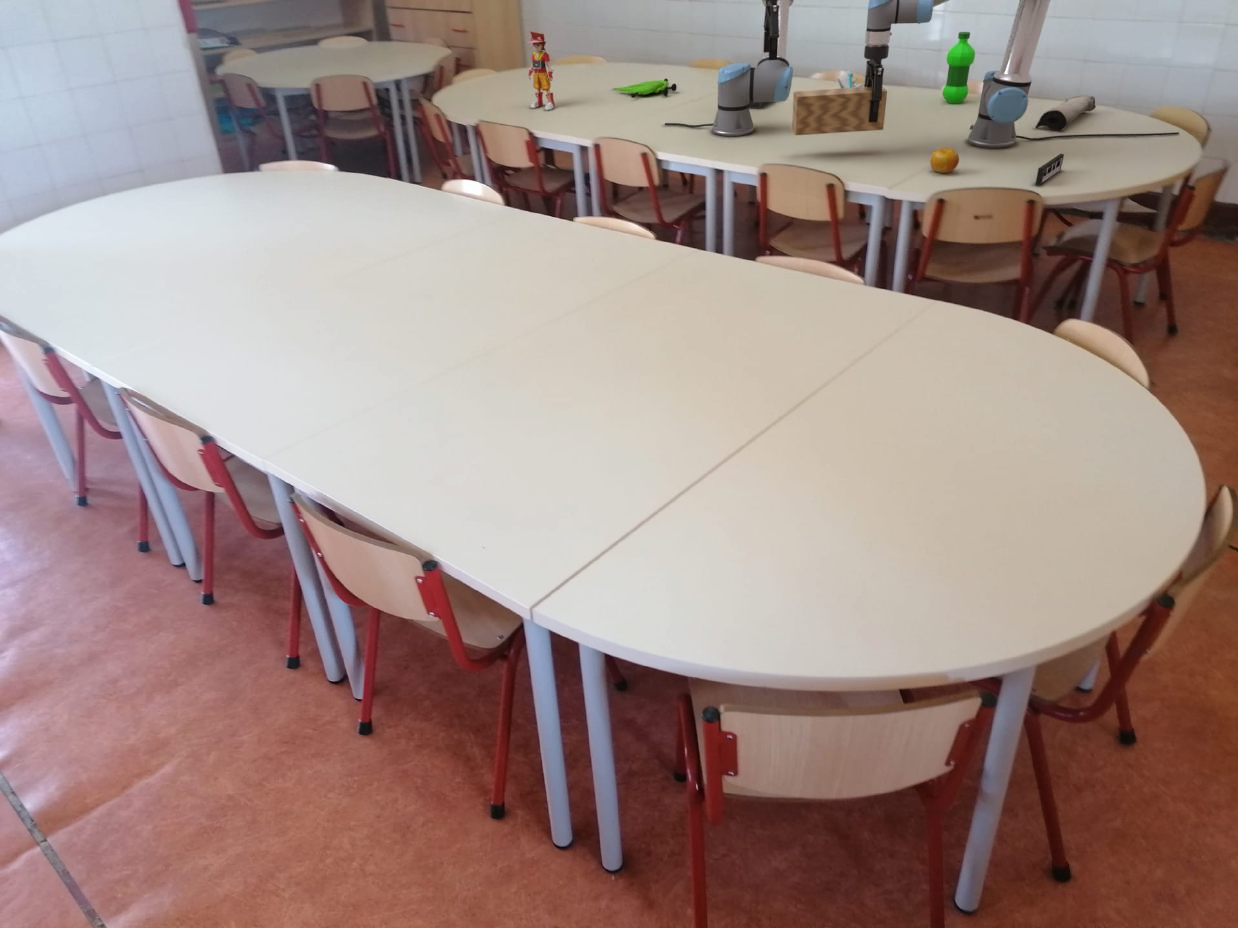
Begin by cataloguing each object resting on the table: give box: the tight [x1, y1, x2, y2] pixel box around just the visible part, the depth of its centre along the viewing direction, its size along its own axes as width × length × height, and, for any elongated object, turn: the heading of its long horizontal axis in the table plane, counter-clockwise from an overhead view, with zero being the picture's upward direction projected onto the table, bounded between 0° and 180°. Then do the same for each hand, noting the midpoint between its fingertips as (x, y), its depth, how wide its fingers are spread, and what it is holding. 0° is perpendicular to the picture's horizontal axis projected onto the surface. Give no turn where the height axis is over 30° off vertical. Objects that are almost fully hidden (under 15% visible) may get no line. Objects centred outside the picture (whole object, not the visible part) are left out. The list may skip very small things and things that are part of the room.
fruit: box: [929, 147, 960, 174], centre depth 283 cm, size 8×8×8 cm
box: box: [791, 86, 888, 136], centre depth 298 cm, size 29×8×12 cm, turn 89°
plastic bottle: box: [942, 31, 976, 104], centre depth 348 cm, size 10×10×25 cm
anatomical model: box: [837, 70, 865, 89], centre depth 370 cm, size 15×10×10 cm
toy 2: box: [612, 78, 677, 99], centre depth 396 cm, size 28×5×30 cm
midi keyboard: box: [1035, 153, 1065, 186], centre depth 273 cm, size 18×1×5 cm, turn 138°
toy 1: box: [527, 31, 556, 111], centre depth 374 cm, size 12×9×30 cm
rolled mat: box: [1035, 94, 1097, 132], centre depth 323 cm, size 30×9×10 cm
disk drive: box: [749, 102, 772, 109], centre depth 368 cm, size 10×3×15 cm
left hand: (770, 56), depth 305 cm, fingers open, 13 cm apart
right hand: (870, 118), depth 299 cm, fingers closed on box, 8 cm apart
